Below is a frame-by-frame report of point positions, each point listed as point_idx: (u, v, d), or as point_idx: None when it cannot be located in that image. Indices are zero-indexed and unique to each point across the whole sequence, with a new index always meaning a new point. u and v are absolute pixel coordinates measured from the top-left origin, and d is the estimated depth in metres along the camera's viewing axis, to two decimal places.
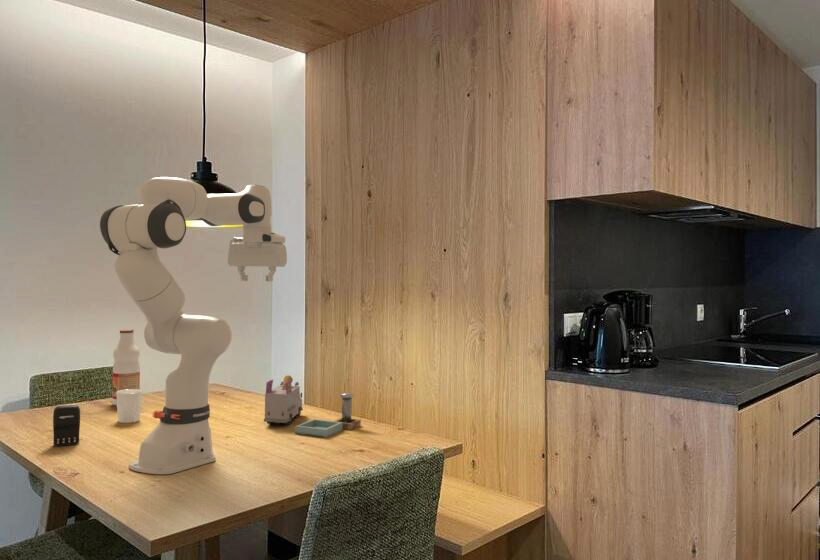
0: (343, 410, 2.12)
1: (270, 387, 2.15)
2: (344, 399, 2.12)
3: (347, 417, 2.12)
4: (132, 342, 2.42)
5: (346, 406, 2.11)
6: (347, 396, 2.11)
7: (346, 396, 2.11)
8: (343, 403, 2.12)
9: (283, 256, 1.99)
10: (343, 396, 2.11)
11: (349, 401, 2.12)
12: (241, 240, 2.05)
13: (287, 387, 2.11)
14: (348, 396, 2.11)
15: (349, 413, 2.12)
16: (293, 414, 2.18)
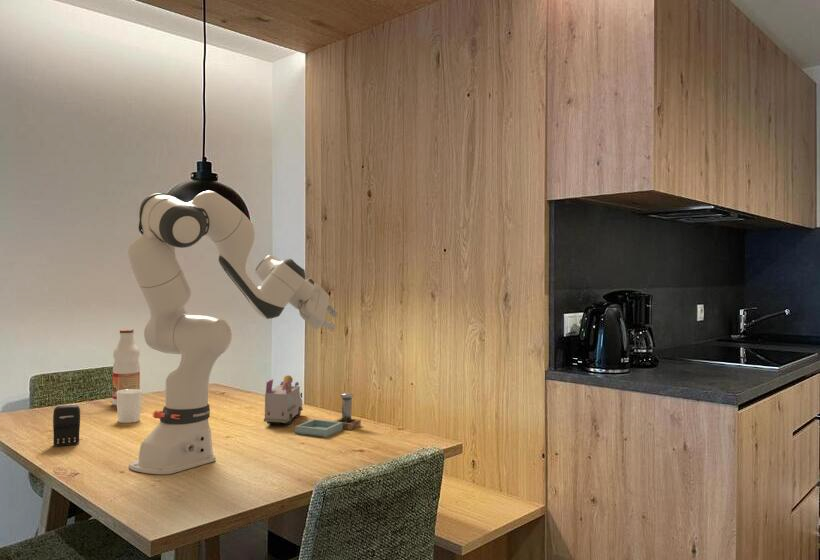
0: (343, 410, 2.12)
1: (270, 387, 2.15)
2: (344, 399, 2.12)
3: (347, 417, 2.12)
4: (132, 342, 2.42)
5: (346, 406, 2.11)
6: (347, 396, 2.11)
7: (346, 396, 2.11)
8: (343, 403, 2.12)
9: None
10: (343, 396, 2.11)
11: (349, 401, 2.12)
12: (302, 303, 1.95)
13: (287, 387, 2.11)
14: (348, 396, 2.11)
15: (349, 413, 2.12)
16: (293, 414, 2.18)
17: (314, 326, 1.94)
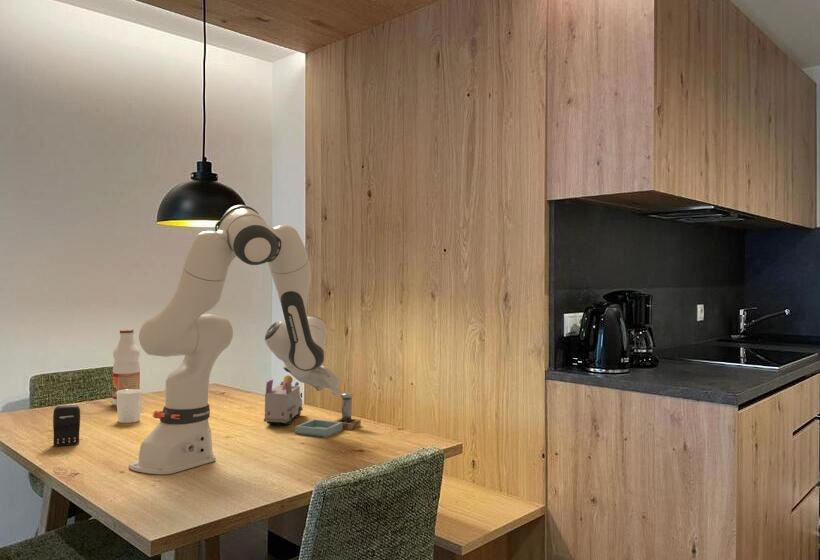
0: (343, 410, 2.12)
1: (270, 387, 2.15)
2: (344, 399, 2.12)
3: (347, 417, 2.12)
4: (132, 342, 2.42)
5: (346, 406, 2.11)
6: (347, 396, 2.11)
7: (346, 396, 2.11)
8: (343, 403, 2.12)
9: None
10: (343, 396, 2.11)
11: (349, 401, 2.12)
12: None
13: (287, 387, 2.11)
14: (348, 396, 2.11)
15: (349, 413, 2.12)
16: (293, 414, 2.18)
17: (334, 385, 1.96)
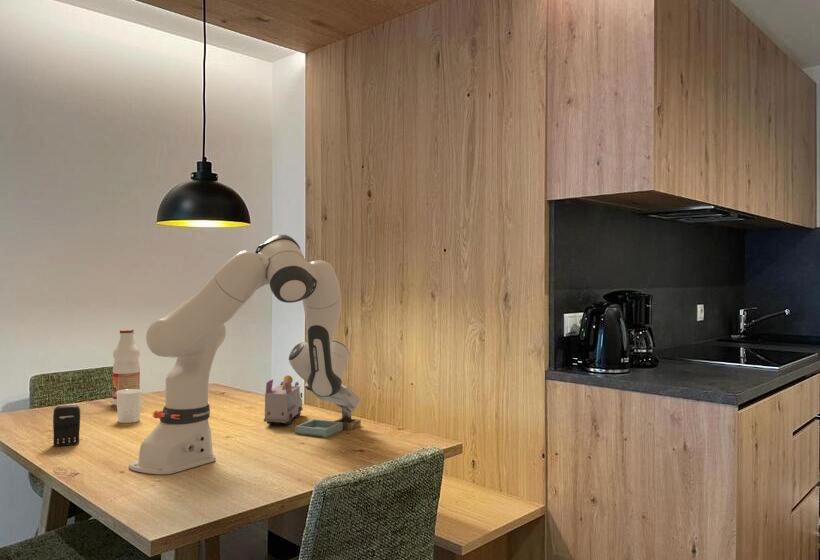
0: (343, 410, 2.12)
1: (270, 387, 2.15)
2: None
3: (347, 417, 2.12)
4: (132, 342, 2.42)
5: (346, 406, 2.11)
6: None
7: None
8: None
9: None
10: None
11: None
12: None
13: (287, 387, 2.11)
14: None
15: (349, 413, 2.12)
16: (293, 414, 2.18)
17: (355, 404, 2.03)
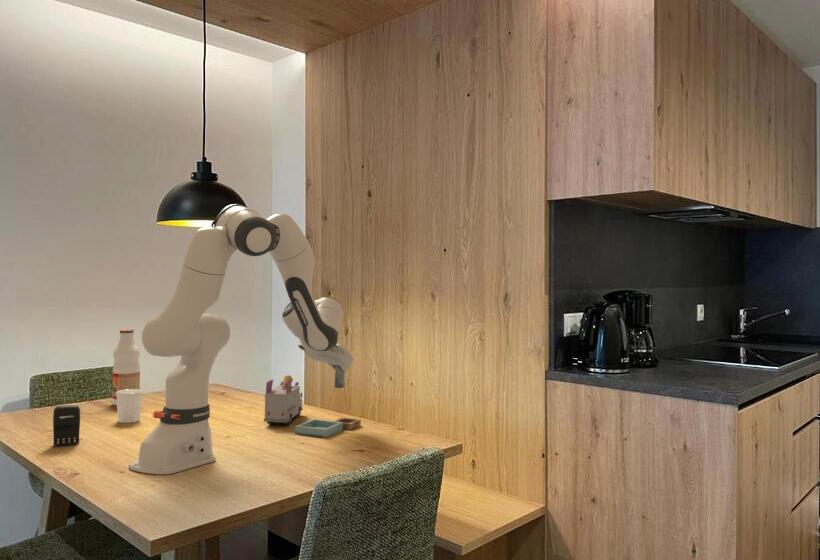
0: (336, 370, 2.11)
1: (270, 387, 2.15)
2: None
3: (340, 377, 2.11)
4: (132, 342, 2.42)
5: (339, 366, 2.11)
6: None
7: None
8: None
9: None
10: None
11: None
12: None
13: (287, 387, 2.11)
14: None
15: (342, 373, 2.11)
16: (293, 414, 2.18)
17: (348, 363, 2.02)
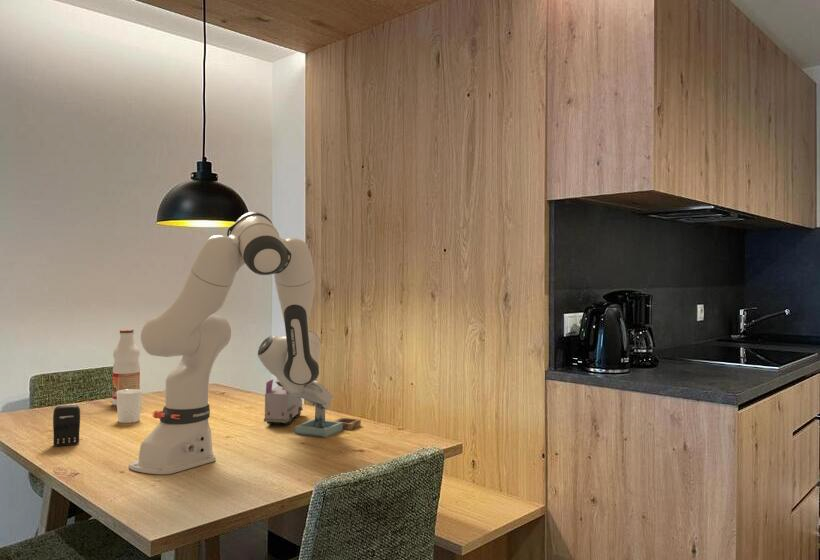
0: (316, 412, 2.04)
1: (270, 387, 2.15)
2: None
3: (320, 420, 2.04)
4: (132, 342, 2.42)
5: (319, 409, 2.04)
6: None
7: None
8: (316, 405, 2.04)
9: None
10: None
11: None
12: None
13: None
14: None
15: (322, 416, 2.04)
16: (293, 414, 2.18)
17: (326, 401, 1.95)
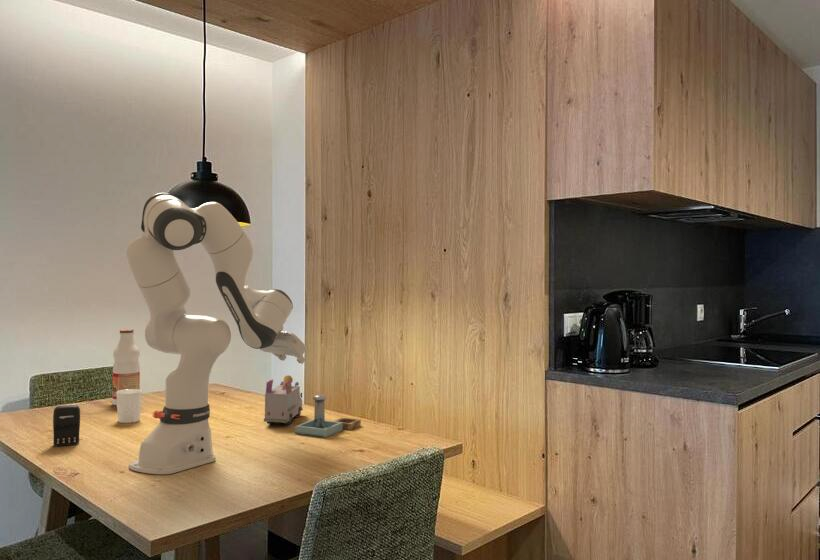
0: (315, 412, 2.04)
1: (270, 387, 2.15)
2: (316, 401, 2.04)
3: (320, 420, 2.04)
4: (132, 342, 2.42)
5: (318, 408, 2.04)
6: (319, 398, 2.03)
7: (318, 398, 2.03)
8: (315, 405, 2.04)
9: None
10: (315, 398, 2.04)
11: (322, 403, 2.04)
12: None
13: (287, 387, 2.11)
14: (320, 398, 2.04)
15: (322, 416, 2.04)
16: (293, 414, 2.18)
17: (300, 352, 1.91)
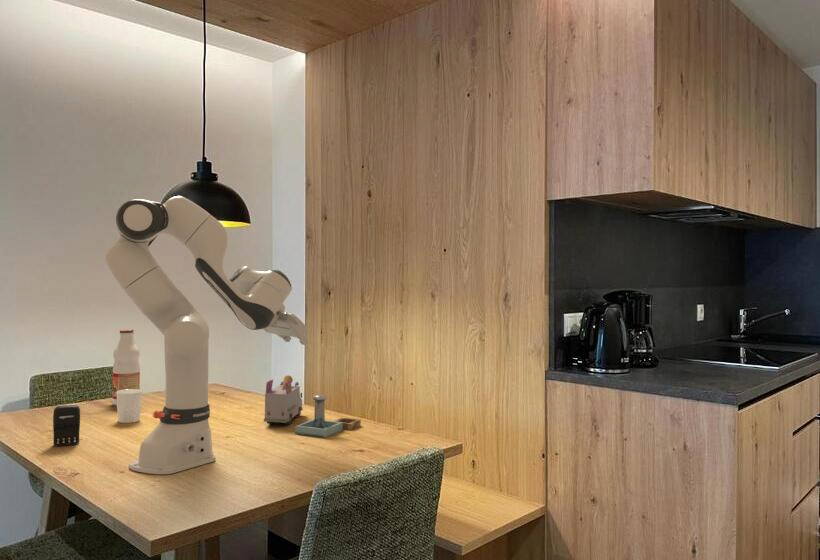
0: (315, 412, 2.04)
1: (270, 387, 2.15)
2: (316, 401, 2.04)
3: (320, 420, 2.04)
4: (132, 342, 2.42)
5: (318, 409, 2.04)
6: (319, 398, 2.03)
7: (318, 398, 2.03)
8: (315, 405, 2.04)
9: None
10: (315, 398, 2.04)
11: (322, 403, 2.04)
12: None
13: (287, 387, 2.11)
14: (320, 398, 2.04)
15: (322, 416, 2.04)
16: (293, 414, 2.18)
17: (301, 333, 1.89)
